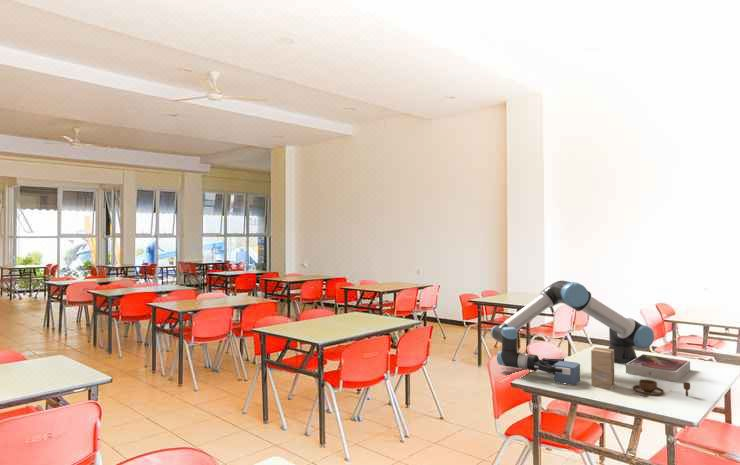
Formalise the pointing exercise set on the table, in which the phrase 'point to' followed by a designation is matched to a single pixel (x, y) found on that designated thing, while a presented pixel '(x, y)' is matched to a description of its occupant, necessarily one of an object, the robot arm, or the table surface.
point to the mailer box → (602, 367)
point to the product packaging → (658, 367)
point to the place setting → (653, 388)
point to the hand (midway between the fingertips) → (574, 368)
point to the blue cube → (565, 378)
